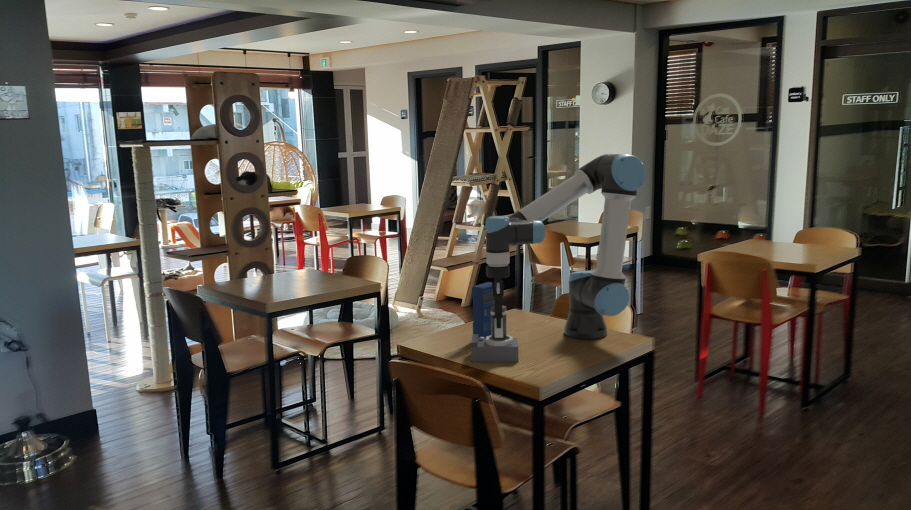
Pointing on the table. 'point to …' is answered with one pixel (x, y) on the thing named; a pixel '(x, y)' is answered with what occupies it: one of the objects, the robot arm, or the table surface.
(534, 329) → the table surface
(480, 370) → the table surface
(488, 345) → the camera body
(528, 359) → the table surface
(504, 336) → the lens
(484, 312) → the electronic device
